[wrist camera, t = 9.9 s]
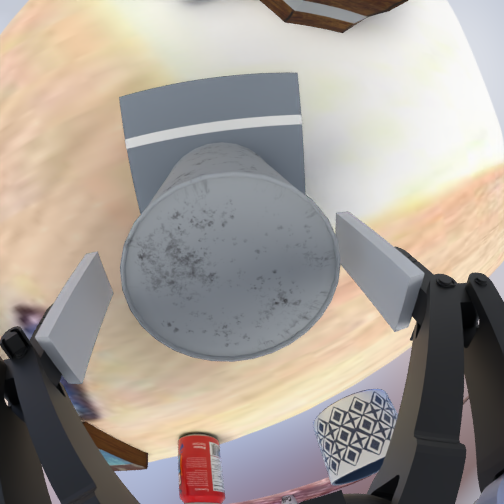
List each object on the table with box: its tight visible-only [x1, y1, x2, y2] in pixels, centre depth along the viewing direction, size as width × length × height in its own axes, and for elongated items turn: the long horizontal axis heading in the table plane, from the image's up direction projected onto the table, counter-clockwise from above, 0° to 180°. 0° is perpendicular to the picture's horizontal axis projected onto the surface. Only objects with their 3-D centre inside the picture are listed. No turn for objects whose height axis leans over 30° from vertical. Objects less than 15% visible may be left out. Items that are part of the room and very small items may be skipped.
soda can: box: [178, 434, 225, 504], centre depth 36 cm, size 8×8×15 cm
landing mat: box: [119, 73, 305, 214], centre depth 22 cm, size 14×18×1 cm
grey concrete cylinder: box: [120, 142, 341, 361], centre depth 17 cm, size 10×10×12 cm
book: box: [83, 422, 148, 471], centre depth 42 cm, size 23×18×5 cm
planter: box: [313, 389, 398, 485], centre depth 39 cm, size 16×16×14 cm
